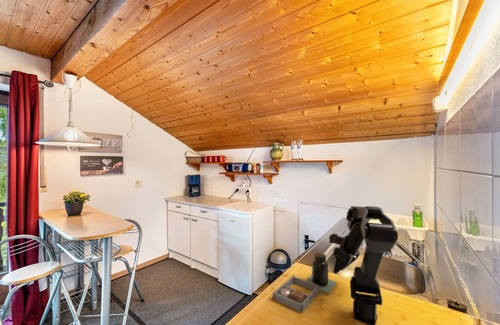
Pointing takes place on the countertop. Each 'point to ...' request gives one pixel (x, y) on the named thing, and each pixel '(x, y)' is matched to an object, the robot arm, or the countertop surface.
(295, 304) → the parts organiser
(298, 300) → the walnut block
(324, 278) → the supplement bottle
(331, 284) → the rubber mat
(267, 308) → the countertop surface
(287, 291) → the silver round piece
